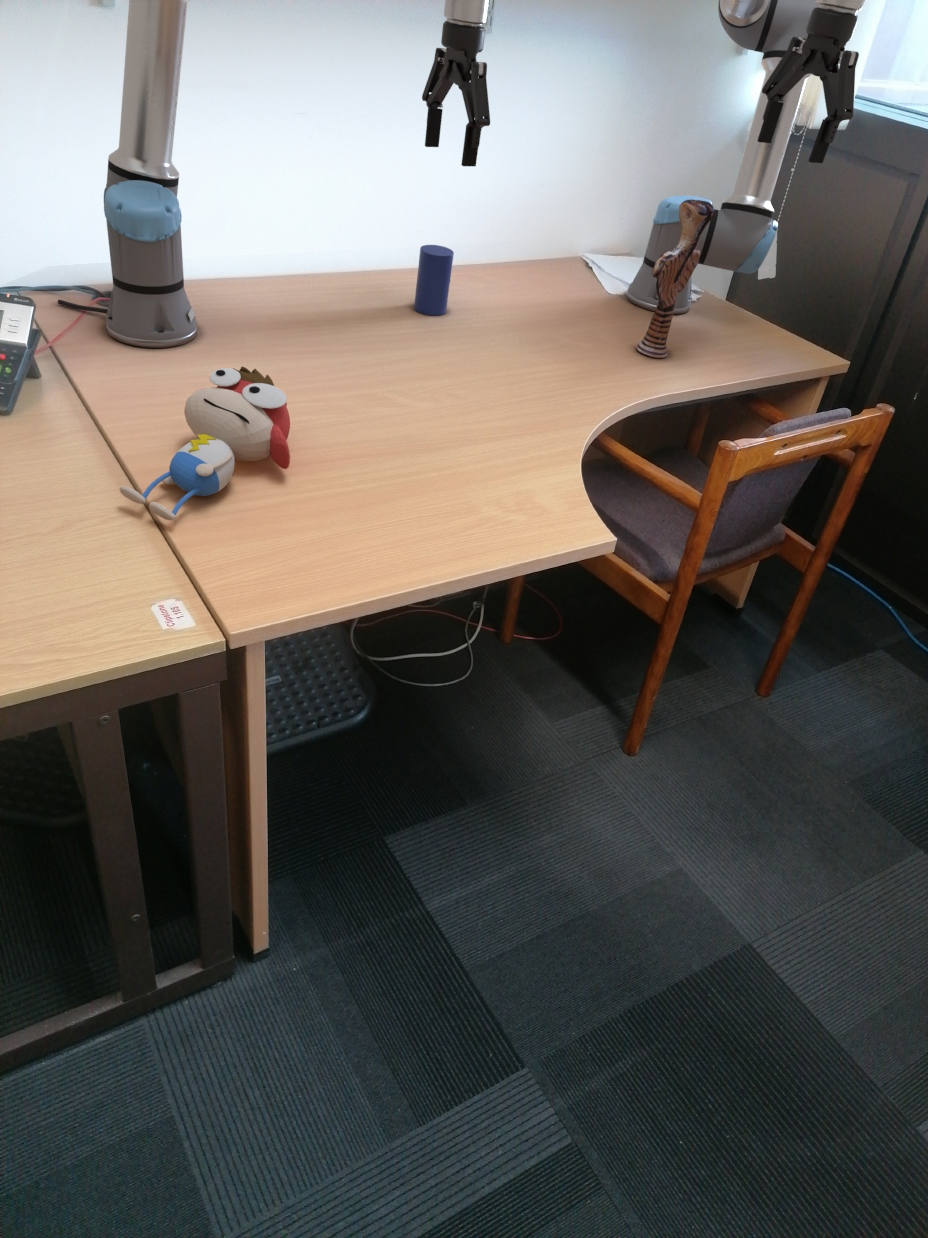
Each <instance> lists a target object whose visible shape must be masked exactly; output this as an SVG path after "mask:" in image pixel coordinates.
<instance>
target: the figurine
mask: <svg viewBox="0 0 928 1238" xmlns="http://www.w3.org/2000/svg"><path fill="white" fill-rule="evenodd" d="M714 209H715V207H714V205H713V203H712V204H711V203H709V202H707V201H701V200H693V199H691V200H685V201H683V202H682V203H681V204H680V207H679V218H680V222H681V228H682V231H681V238H680V242H679V244H678V246H677V247H675V248H674V250H673V251H672V252H670V251H665V252H664V253H663V254H662V255H661V256H660V259H658V260H657V262H656V263H655V265H654V269H653V271H652V275H653V277H654V278H657V282H656V290H657V296H658V298H659V302H658V304H657V307H656V309H655V311H653V314H652V316H651V319H650V322H649V325H648V327H647V330H646V332H645V335H644V336H643V338H642V340H640V342H639V343H637V344H636V346H635V348H636V350H637V351H638V352H640V353H641V354H643V355H646V356H648V357H651V358H658V359H660V358H662V359H663V358H666V357H668V355H669V352H668V350H667V342H668V341H667V340H668V335H669V332H670V328H671V326H672V322H673V321H672V320H673V316H674V314H673V312H674V305H675V301H676V298H677V293H678V292H681V291H682V290H683V289H684V287H685V286H686V284H687V282H688V280H689V278H690V277H691V278H692V276H691V275H693V273H694V271H695V269H696V268H697V266H698V265H699V264H698V263H699V256H700V251H699V249H698V248H696V245H697V243H698V240H699V237H700V235H701V234H702V232H703V230H704V229H705V227H706V226H707V224H708V223H709V221H710V220H711V219H712V217H713V214H714Z"/></svg>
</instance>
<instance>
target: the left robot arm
mask: <svg viewBox="0 0 928 1238" xmlns="http://www.w3.org/2000/svg"><path fill="white" fill-rule="evenodd" d="M189 2H190V0H128V12H127V25H126V40H125V41H126V42H125V54H124V56H125V57H124V69H123V82H122V83H123V84H122V97H121V109H120V110H121V112H120V124H119V125H120V126H119V139H118V147H117V149H116V150H114V151H112V152H111V153H110V154H109V155H108V157H107V158H108V159H107V172H106V183H105V188H104V191H103V212H104V217H105V219H106V229H107V240H108V249H109V259H110V268H111V277H112V291H111V295H110V300H109V303H108V307H107V308H102V307H95V306H89V305H81V304H77V303H73V302H69V301H67V300H63V299H57V304H58V305H62V306H64V307H68V308H72V309H76V310H81V311H85V312H86V311H87V312H95V313H102V314H106V315H105V326H106V328H105V329H106V332H107V334H108V335H109V336H110V337H111V338H112V339H114V340H116V341H117V342H120V343H123V344H126V345H130V346H133V347H140V348H152V349H157V348H160V349H163V348H171V347H177V346H182V345H184V344H187V343H189V342H191V341H193V340H194V339H195V338H196V337H197V335H198V324H197V320H196V317H195V316H196V311H195V310H194V306H193V305H192V306H191V304H190V300H189V298H188V296H187V293H186V290H185V278H184V260H183V259H184V258H183V244H182V243H183V242H182V241H183V240H182V221H183V220H182V210H181V208H180V202H179V199H178V192H179V182H180V180H179V179H180V172H179V171H178V170H177V168H176V166H175V165H174V164H173V161H172V159H173V150H174V149H173V148H174V138H175V131H176V121H177V120H176V119H177V110H178V102H179V101H178V100H179V91H180V80H181V72H182V63H183V62H182V61H183V53H184V50H183V49H184V44H185V43H184V42H185V32H186V23H187V12H188V4H189ZM489 3H490V0H444V9H443V16H444V18H446V20H444V22H442V31H441V39H440V43H441V46H442V47H436V48H435V52H434V59H433V63H432V65H431V69H430V71H429V75H428V78H427V80H426V83H425V85H424V86H425V87H424V89H423V92H422V94H421V99H422V101H423V102H425V103H426V104H425V105H426V107H427V116H426V130H425V139H424V147H426V148H440V147H439V146H440V138H441V128H442V119H443V111H444V110H443V109H442V108H444V106H443V102H444V100H445V99H446V97H447V95H448V94H449V92H450V90H451V89H452V87H453V86H454V85H456V86H457V87H458V89H459V90H460V91H461V95H462V99H463V103H464V107H465V108H464V109H465V112H466V115H467V116H466V117H467V120H468V122H467V124H465V132H464V139H463V149H462V155H461V156H462V157H461V166H462V167H477V160H478V152H479V147H480V143H481V142H480V141H481V134H482V129H483V128H484V127H489V126H490V125H491V114H490V113H491V112H490V104H489V103H490V102H489V93H488V84H487V83H488V82H487V81H488V80H487V74H488V73H487V72H488V64H487V62H486V61H478V60H477V57H478V56H477V55H478V53H481V52H483V50H484V45H485V38H486V29H485V27H484V26H483V25H486V23H487V21H488V19H487V18H488V10H489V6H490V5H489Z"/></svg>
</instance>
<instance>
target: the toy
mask: <svg viewBox="0 0 928 1238" xmlns="http://www.w3.org/2000/svg"><path fill="white" fill-rule="evenodd" d="M208 377H209V381H210V382H211V384H213V385H215V387H207V388H201V389H198V390H196V391H195V392H193V393H192V394H190V395H189V396H188V397H187V399H186V401H185V405H184V410H183V411H184V417H185V420H186V423H187V426H188V427H189V429H190V430H191V432H192V433H193V435H194V436H195V437H197V438H196V439H191V440H190V442H188V443H186V444H185V445H183V446H182V447H181V448H179V450H177V451H176V453H175V454H174V455H173V457H172V459H171V460H170V463H169V464H170V465H169V469H168V471H167V472H165V473H163V474H161V475H160V476H158V477H157V478H156V479H154V480H153V481H152V482H151V483H150V484H149V485H148V486H147V487H146V489H145V490H144V491H143V493H142V494H141V493H139V492H138V490H135V489H134V488H132V487H130V486H127V485H121V486H120V487H119V493H120V494H121V495H122V496H123V497H125V498H126V499H128V500H130V501H131V502H133V503H136V504H140V505H144V504H146V503H147V498H148V496H149V495H150V493H151V492H152V491H153V490H154V488H155V487H156V486H157V485H159V484H160V483H161V482H162V483H163V484H165V485H168V486H173V485H176V486H177V487H178V488H180V489H181V490H183V491H184V492H186V494H185V495H184V496H182V497H181V498H180V500H178V502H177V503H176V504H175V506H174V508H173V509H172V511H171V510H170V509H169V508H168V507H167V506H165V505H163V504H161V503H159V502H156V501H151V502H150V503H149V504H148V507H149V509H150V511H151V512H152V513H154V514H155V515H157V516H158V517H160V518H162V519H163V520H166V521H176V519H177V516H176V515H177V514H178V513H179V510H180V508H181V507H182V506H184V504H185V503H186V502H187V501H188V500H189V499H190V498H191V497H193V496H197V497H198V496H199V497H207V496H211V495H214V494H217V493H218V492H220V491H221V490H222V489H224V488H225V487H226V486H227V485H228V484H229V482H230V480H231V479H232V476H233V474H234V471H235V466H236V465H235V464H236V463H235V462H236V461H235V460H238V461H242V462H252V461H253V462H255V461H261V460H264V459H267V457H269V456H270V457H271V459H272V461H273V462H274V463H275V465H276V466H278V467H279V468H280V469H283V470H287V469H288V468H289V467H290V463H291V456H290V455H291V454H290V449H289V444H288V442H287V440H288V438H289V434H290V429H291V417H290V411H289V409H288V407H287V405H288V403H287V401H288V398H287V395H286V393H285V392H284V391H283V390H281V389H280V388H278V387H276V386H275V384H274V381H273V379H272V378H271V376H269V374H266V375H265V376H264V375H263V374H262V373H261V372H259V371H258V370H257V368H253V369H252V371H250V370H249V369H248V368H247V367H244V366H241V367H240V368H239V370H238V369H237V368H234V367H233V368H230V367H223V368H222V367H221V368H217V369H215V370H214V371H212V372H211V373H210V374H209V376H208Z"/></svg>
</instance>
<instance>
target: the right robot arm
mask: <svg viewBox="0 0 928 1238" xmlns="http://www.w3.org/2000/svg"><path fill="white" fill-rule="evenodd" d="M865 2H866V0H718V4H717V5H718V6H717V7H718V9H717V11H718V18H719V21H720V24H721V26H722V28H723V30H724V32H725V33H726V34H727V35H728V37H729V38H730V39H731V40H732V41H733V42H734V43H735V44H736V45H738V46H740V47H741V48H743V49H745V50H748V51H754V52H756V53H757V52H758V53H762V54H763V55H762V58H761V62H760V64H761V66H762V69H763V70H764V72H765V75H764V77H763V82H762V85H761V89H760V92H759V96H758V100H757V103H756V106H755V109H754V113H753V117H752V121H751V124H750V128H749V131H748V134H747V139H746V142H745V146H744V149H743V154H742V155H741V160H740V164H739V167H738V171H737V174H736V177H735V181H734V185H733V189H732V192H731V194H730V196H728V197H727V198H725V199H724V200H722V203H721V205H720V209H715V208H714V214H713V217H712V219H711V220H710V221H709V223H708V224H707V226H706V227H705V229H704V230H703V232H702V234H701V235H700V237H699V240H698V243H697V245H696V248H698V249H699V251H700V256H699V263H698V264H697V265H702V266H705V267H711V268H717V269H721V270H724V271H725V270H726V271H730V272H733V273H741V274H742V273H743V274H748V275H749V274H754V273H756V272H758V270H759V269H760V268H761V267H762V264H763V263H764V261H765V259H766V258H767V256H768V254H769V252H770V249H771V247H772V246H773V242H774V240H775V238H776V234H777V231H778V227H779V223H778V221H776V220H775V219H773V218H774V215H775V212H776V211H775V209H774V208H773V205H772V202H771V201H772V198H773V194H774V190H775V188H776V184H777V180H778V177H779V173H780V171H781V167H782V163H783V161H784V157H785V153H786V150H787V147H788V144H789V141H790V136H791V133H792V130H793V127H794V123H795V119H796V116H797V113H798V110H799V106H800V103H801V99H802V96H803V92H804V90H805V87H806V83H807V80H808V79H809V78H811V77H812V76H815V77H819V80H820V81H821V82H822V88H823V95H824V102H825V108H826V115H827V116H825V117H824V118H823V119H822V121H821V123H820V127H819V130H818V132H817V135H816V138H815V141H814V143H813V147H812V150H811V152H810V155H809V158H808V162H809V163H812V164H813V163H814V164H823V163H824V160H825V157H826V155H827V152H828V149H829V147H830V144H832V143H833V141H834V140H835V137H836V134H837V132H838V129H839V126H840V124H841V123H842V122H844V121H850V120H852V119H853V117H854V106H855V87H856V86H855V84H856V68H857V65H858V64H857V63H858V60H859V57H860V53H859V51H855V50H847V49H846V45H847V43H848V42H850V41H851V40H852V38H853V35H854V32H855V29H856V27H857V24H858V21H859V17H858V16H859V15H857V13H858V12H860V11H862V10H863V7H864V4H865ZM691 199H693V200H701V201H707V202H709V203H711V204H712V205H713V201H712V200H710V199H708V198H704V197H703V198H702V197H701V196H695V195H673V196H668V197H665V198H663V199H662V200H661V201H660V202H659V203H658V206H657V208H656V211H655V215H654V217H653V219H652V227H651V230H650V234H649V238H648V242H647V246H646V249H645V253H644V256H643V261H642V263H641V266H640V268H639V269H638V271H637V272H636V275H635V276H634V278H633V280H632V281H631V283H630V284H629V286H628V288H627V292H626V299H627V300H628V301H629V302H631V303H632V304H633V305H635V306H637V307H639V308H642V309H645V310H646V311H647V310H648V311H651V312H654V311H655V309H656V307H657V304H658V302H659V298H658V296H657V290H656V282H657V278H654V277H653V275H652V271H653V269H654V265H655V263H656V262H657V260H658V259H660V256H661V255H662V254H663V253H664V252H665V251H670V252H672V251H673V250H674V248H675V247H677V246H678V244H679V242H680V238H681V231H682V228H681V222H680V218H679V207H680V204H681V203H682V202H683V201H685V200H691ZM692 275H693V274H692ZM692 275H691V277H690V278H689V280H688V282H687V284H686V286H685V287H684V289H683V290H682V291H681V292H678V293H677V298H676V301H675V305H674V312H673V315H681V314H685V313H688V312H689V311H690V308H691V305H692V301H693V297H692Z"/></svg>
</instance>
